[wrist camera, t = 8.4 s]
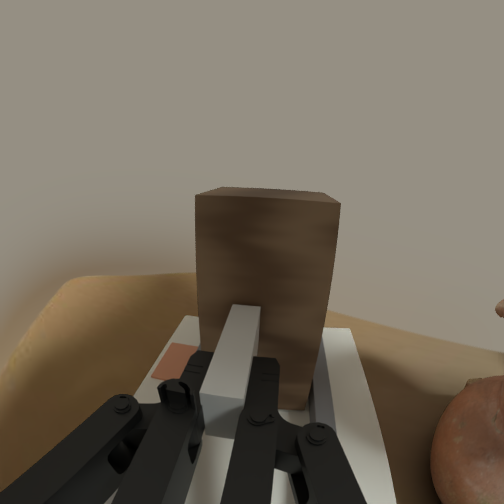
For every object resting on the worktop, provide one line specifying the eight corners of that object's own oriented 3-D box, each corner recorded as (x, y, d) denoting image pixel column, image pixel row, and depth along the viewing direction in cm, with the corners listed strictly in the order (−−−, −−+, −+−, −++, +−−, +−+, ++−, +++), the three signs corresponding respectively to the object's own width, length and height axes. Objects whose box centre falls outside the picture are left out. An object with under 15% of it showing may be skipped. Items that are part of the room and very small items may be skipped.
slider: (302, 359, 22) (323, 192, 18) (304, 410, 16) (340, 203, 12) (222, 352, 23) (222, 187, 19) (205, 400, 17) (195, 195, 13)
